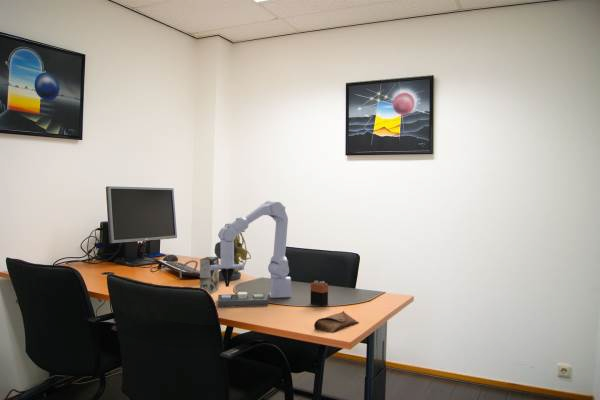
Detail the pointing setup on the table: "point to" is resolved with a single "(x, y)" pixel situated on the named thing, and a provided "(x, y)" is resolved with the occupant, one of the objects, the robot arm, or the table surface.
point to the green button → (258, 295)
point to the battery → (319, 293)
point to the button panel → (242, 301)
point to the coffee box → (209, 274)
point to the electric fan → (238, 252)
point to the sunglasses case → (334, 322)
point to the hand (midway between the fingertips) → (227, 286)
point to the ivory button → (242, 295)
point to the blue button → (226, 296)
